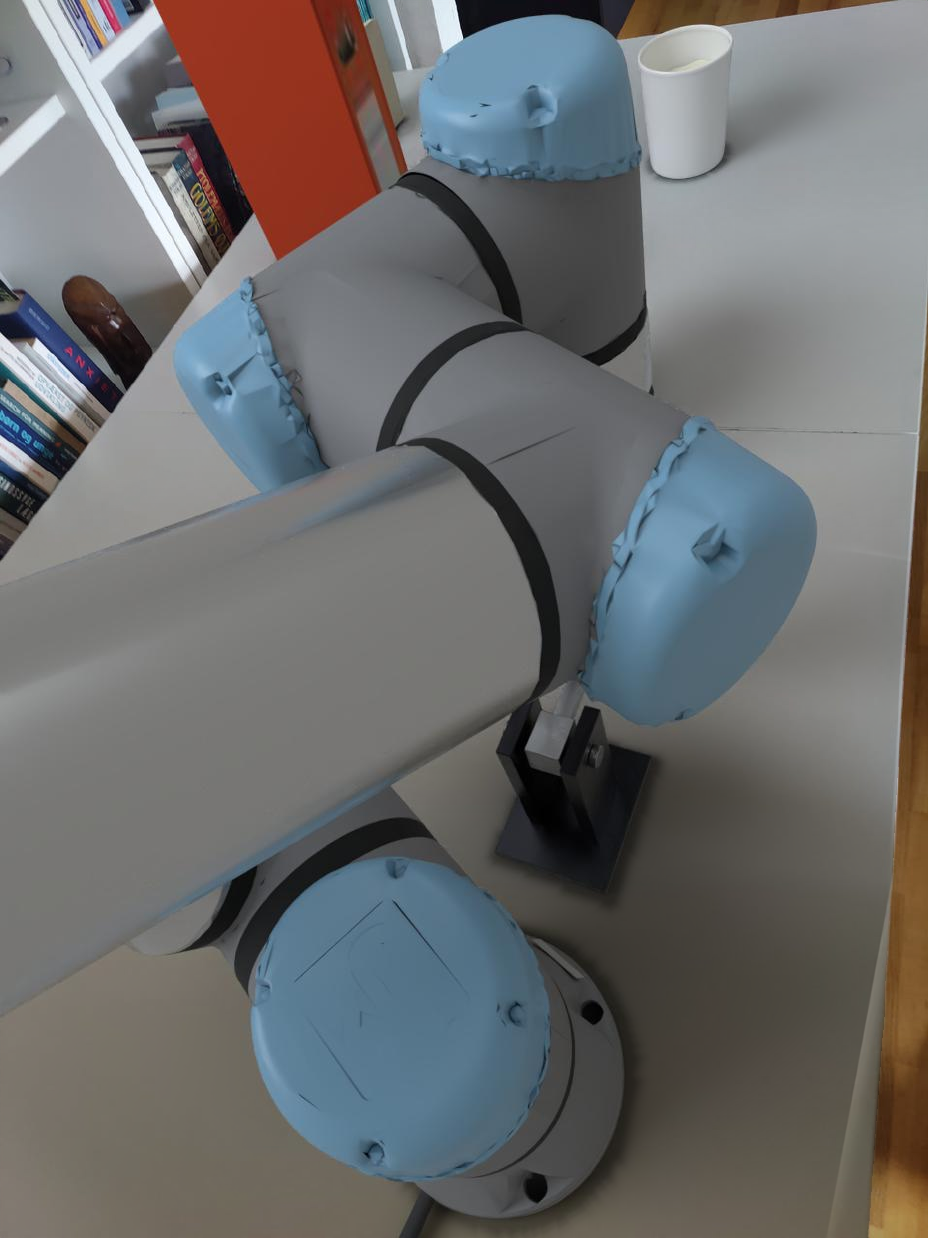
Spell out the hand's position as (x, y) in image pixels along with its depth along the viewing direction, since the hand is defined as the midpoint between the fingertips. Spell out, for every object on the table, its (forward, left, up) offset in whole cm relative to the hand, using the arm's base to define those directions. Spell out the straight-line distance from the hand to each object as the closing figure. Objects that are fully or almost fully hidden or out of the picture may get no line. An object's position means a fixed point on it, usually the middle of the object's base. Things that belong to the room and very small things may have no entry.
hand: (616, 641), depth 60 cm
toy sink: (+74, +61, -5) cm, 96 cm away
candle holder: (+68, +14, -6) cm, 70 cm away
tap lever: (-6, 0, +4) cm, 7 cm away
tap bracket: (-11, 0, -6) cm, 12 cm away
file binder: (+48, +50, -6) cm, 70 cm away
